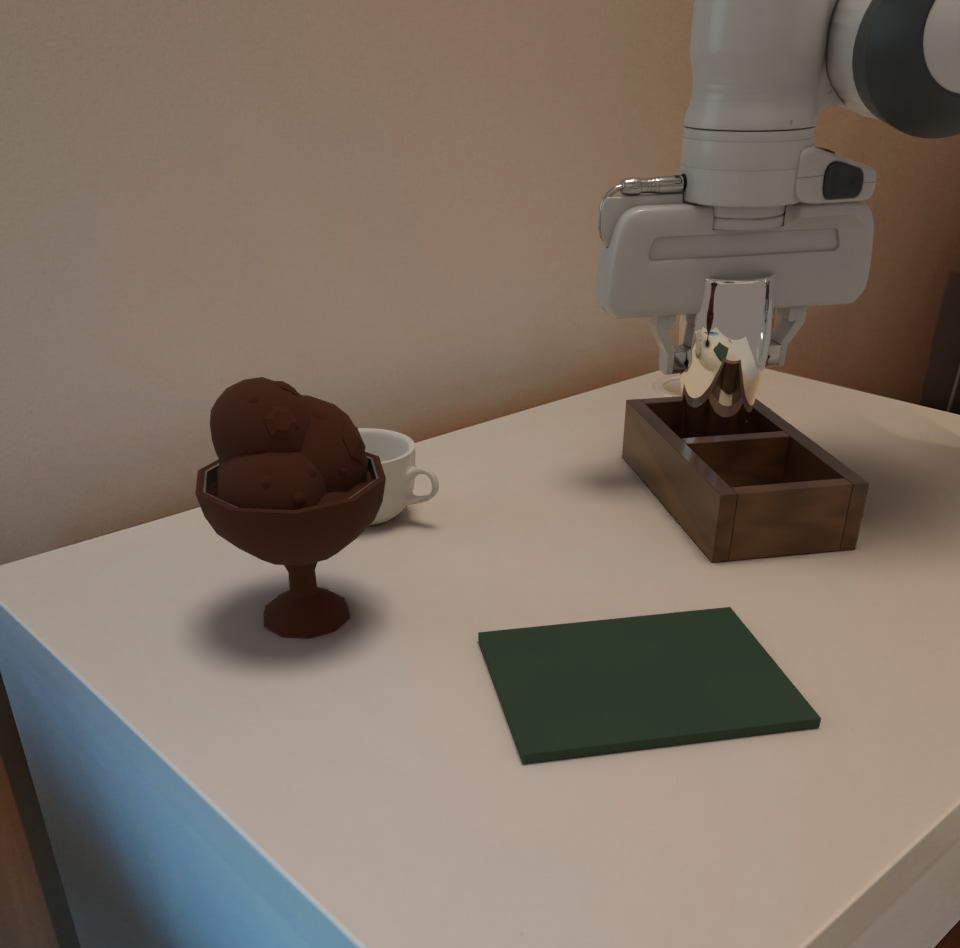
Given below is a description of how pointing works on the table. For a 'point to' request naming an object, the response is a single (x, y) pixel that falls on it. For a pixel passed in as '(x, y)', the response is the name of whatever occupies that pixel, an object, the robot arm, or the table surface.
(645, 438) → the divided wooden box
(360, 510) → the ice cream bowl
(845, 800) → the table surface
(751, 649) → the mat
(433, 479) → the teacup
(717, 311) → the beer glass
